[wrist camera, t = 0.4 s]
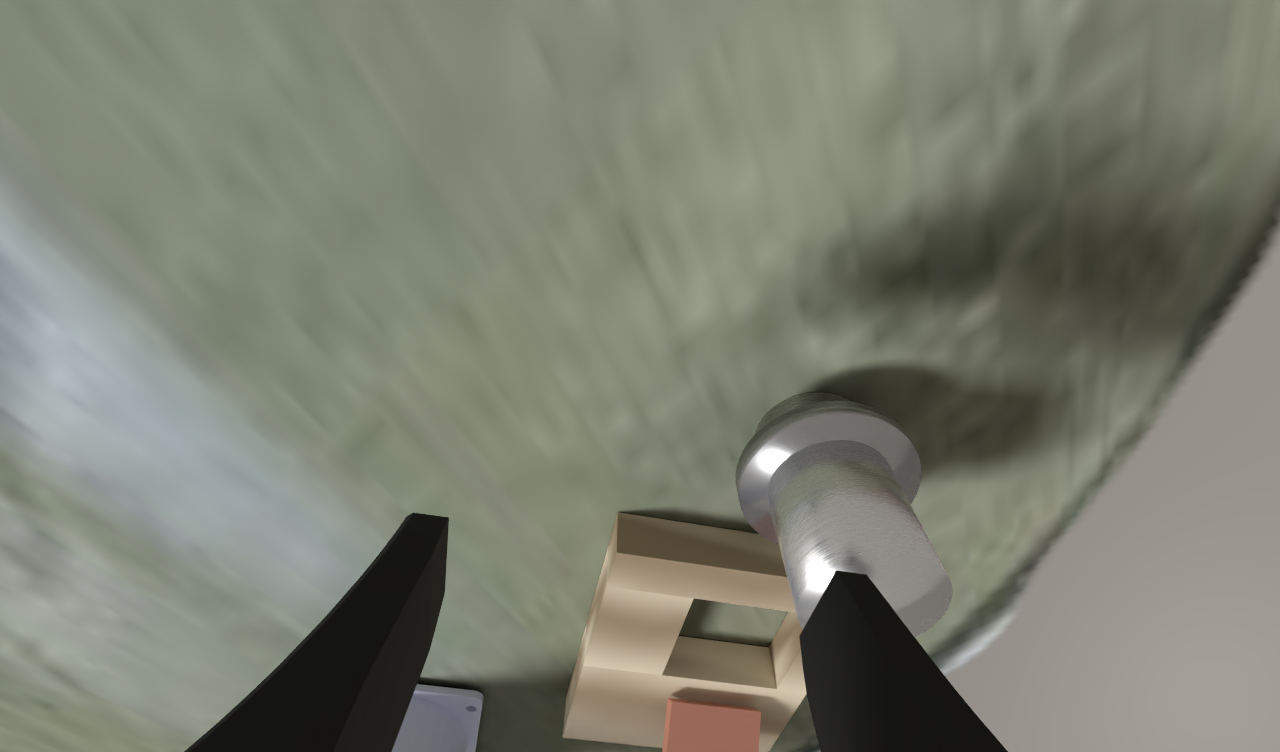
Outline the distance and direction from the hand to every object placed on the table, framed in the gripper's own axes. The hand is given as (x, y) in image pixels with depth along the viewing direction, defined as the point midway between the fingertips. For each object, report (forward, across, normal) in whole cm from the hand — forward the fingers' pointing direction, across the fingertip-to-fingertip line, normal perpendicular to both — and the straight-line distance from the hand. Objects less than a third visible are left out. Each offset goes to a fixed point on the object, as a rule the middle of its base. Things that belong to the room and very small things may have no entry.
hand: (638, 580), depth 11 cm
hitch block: (+10, -6, +14) cm, 18 cm away
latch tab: (+6, -7, +18) cm, 20 cm away
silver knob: (+10, -7, +3) cm, 12 cm away
